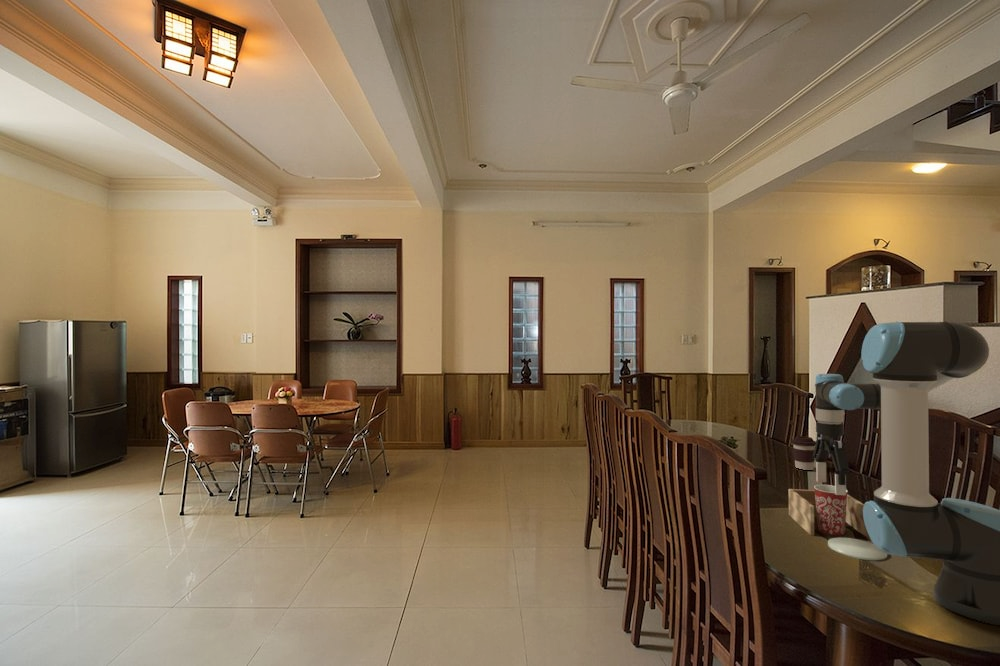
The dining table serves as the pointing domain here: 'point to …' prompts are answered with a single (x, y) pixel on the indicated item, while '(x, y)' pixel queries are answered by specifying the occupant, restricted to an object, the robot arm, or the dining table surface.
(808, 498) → the crate
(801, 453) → the coffee cup
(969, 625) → the dining table surface
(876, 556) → the disc
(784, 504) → the dining table surface
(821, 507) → the mug
